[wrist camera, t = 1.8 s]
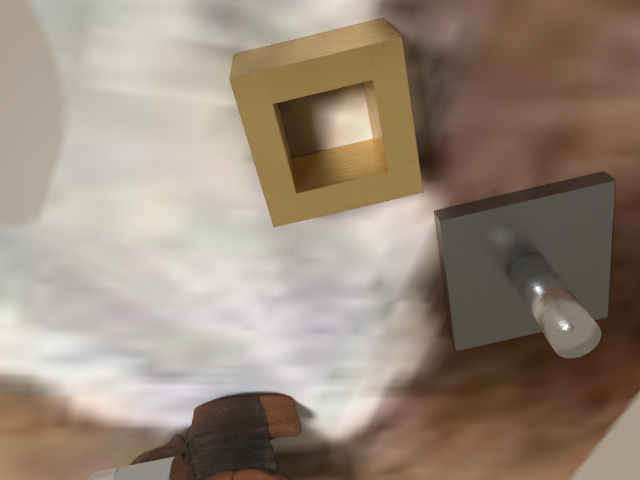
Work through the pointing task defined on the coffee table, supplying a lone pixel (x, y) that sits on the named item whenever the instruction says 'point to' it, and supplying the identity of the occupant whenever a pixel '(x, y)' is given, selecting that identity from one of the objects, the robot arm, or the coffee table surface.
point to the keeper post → (530, 264)
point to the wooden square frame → (342, 162)
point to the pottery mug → (233, 439)
